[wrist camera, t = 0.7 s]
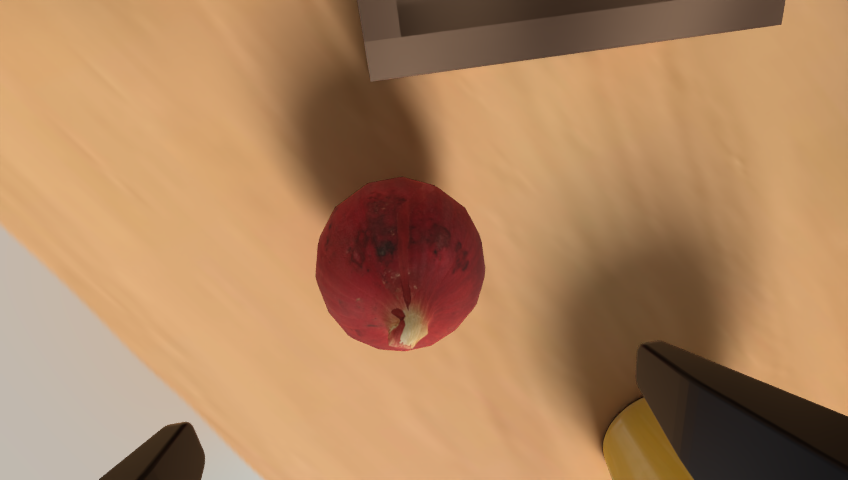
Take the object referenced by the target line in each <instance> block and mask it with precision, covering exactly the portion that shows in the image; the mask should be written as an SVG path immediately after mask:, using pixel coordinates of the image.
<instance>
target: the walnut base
mask: <svg viewBox="0 0 848 480" xmlns="http://www.w3.org/2000/svg"><path fill="white" fill-rule="evenodd" d="M357 2H358V8H359V15H360V21H361V27H362V33H363V39H364V45H365V51H366V57H367V63H368V69H369V75H370V81H371V82H372V81H379V80H387V79H394V78H401V77H408V76H415V75H423V74H430V73H437V72H444V71H451V70H458V69H466V68H473V67H480V66H487V65H494V64H502V63H509V62H516V61H523V60H530V59H538V58H545V57H552V56H559V55H566V54H574V53H581V52H588V51H595V50H602V49H610V48H617V47H624V46H631V45H638V44H645V43H653V42H660V41H667V40H674V39H681V38H689V37H696V36H703V35H710V34H717V33H725V32H732V31H739V30H746V29H753V28H761V27H768V26H775V25H781V24H782V18H783V12H784V6H785V0H357Z"/></svg>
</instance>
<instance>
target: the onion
mask: <svg viewBox="0 0 848 480" xmlns="http://www.w3.org/2000/svg"><path fill="white" fill-rule="evenodd" d="M484 276H485V264H484V256H483V249H482V242H481V239H480V236H479V233H478V231H477V229H476V227H475V225H474V223H473V222H472V220H471V218H470V216H469V214H468V212H467V210H466V209H465V207H463V206H462V205H461V204H459V203H458V202H457V201H455V200H454V199H453V198H451V197H450V196H449V195H447V194H446V193H445V192H443V191H442V190H441V189H439V188H438V187H436V186H434V185H431V184H427V183H424V182H420V181H416V180H413V179H409V178H405V177H398V178H392V179H387V180H382V181H376V182H371V183H367V184H366V185H365V186H363V187H362V188H361V189H359V190H358V191H357V192H355V193H354V194H353V195H351V196H350V197H348V198H347V199H346V200H344V201H343V202H342V203H340V204H339V205H338V206H336V207H335V209H334V210H333V212H332V214H331V216H330V218H329V220H328V222H327V224H326V226H325V228H324V230H323V232H322V234H321V235H320V239H319V243H318V249H317V263H316V280H317V283H318V286H319V289H320V291H321V294H322V296H323V299H324V301H325V304H326V306H327V309H328V312H329V313H330V314H331V315H332V317H333V318H334V319H335V320H336V321H337V322H338V324H339V325H340V326H341V327H342V328H343V330H344V331H345V332H346V333H347V334H348V335H349V336H350V337H352V338H353V339H356V340H358V341H360V342H363V343H365V344H368V345H370V346H372V347H375V348H377V349H383V350H396V351H408V350H413V349H418V348H422V347H427V346H431V345H433V344H434V343H436V342H437V341H439V340H440V339H442V338H444V337H445V336H447V335H448V334H450V333H451V332H453V331H455V330H456V329H457V328H458V326H459V325H460V324H461V323H462V321H463V320H464V319H465V318H466V317H467V315H468V314H469V313H470V312H471V311H472V310H473V308H474V307H475V305H476V304H477V301H478V297H479V294H480V291H481V287H482V284H483V280H484Z"/></svg>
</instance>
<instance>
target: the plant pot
mask: <svg viewBox="0 0 848 480" xmlns="http://www.w3.org/2000/svg"><path fill="white" fill-rule="evenodd" d="M603 453H604V458H605V461H606V464H607V467H608V469H609V472H610V475H611V477H612V480H694V479H693V478H692V476H691V475H690V474H689V472H688V471H687V469H686V468H685V466H684V465H683V463H682V462H681V460H680V459H679V457H678V456H677V454H676V452H675V451H674V449H673V447H672V446H671V444H670V442H669V440H668V439H667V437H666V435H665V433H664V432H663V430H662V428H661V426H660V425H659V423H658V421H657V419H656V418H655V416H654V414H653V412H652V410H651V409H650V407H649V405H648V403H647V402H646V400H645V398H644V397H643V398H641V399H639V400H637V401H636V402H634V403H632V404H631V405H629V406H628V407H627V408H625V409H624V410H623V411H622V412H621V413H620V414H619V415H618V416H617V417H616V418H615V419H614V421H613V422H612V423H611V425H610V426H609V428H608V430H607V432H606V435H605V438H604V442H603Z"/></svg>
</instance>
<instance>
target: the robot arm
mask: <svg viewBox="0 0 848 480" xmlns="http://www.w3.org/2000/svg"><path fill="white" fill-rule="evenodd" d="M636 382H637V385H638V387H639V389H640V391H641V393H642V395H643V396H644V398H645V400H646V402H647V403H648V405H649V407H650V409H651V410H652V412H653V414H654V416H655V418H656V419H657V421H658V423H659V425H660V426H661V428H662V430H663V432H664V433H665V435H666V437H667V439H668V440H669V442H670V444H671V446H672V447H673V449H674V451H675V452H676V454H677V456H678V457H679V459H680V460H681V462H682V463H683V465H684V466H685V468H686V469H687V471H688V472H689V474H690V475H691V476H692V478H693V479H694V480H848V416H845V415H843V414H840V413H838V412H836V411H833V410H831V409H828V408H826V407H823V406H821V405H818V404H816V403H813V402H811V401H808V400H806V399H804V398H801V397H799V396H796V395H794V394H791V393H789V392H786V391H784V390H781V389H779V388H776V387H774V386H772V385H769V384H767V383H764V382H762V381H759V380H757V379H754V378H752V377H749V376H747V375H744V374H742V373H740V372H737V371H735V370H732V369H730V368H727V367H725V366H722V365H720V364H717V363H715V362H712V361H710V360H707V359H705V358H703V357H700V356H698V355H695V354H693V353H690V352H688V351H685V350H683V349H680V348H678V347H675V346H673V345H671V344H668V343H666V342H663V341H651V342H645V343H642V344H640V345H639V346H638V349H637V361H636ZM204 464H205V454H204V451H203V448H202V446H201V444H200V442H199V439H198V437H197V435H196V432H195V430H194V428H193V426H192V425H191V424H190V423H189V422H182V423H176V424H170V425H167V426H165V427H163V428H162V429H161V430H160V431H158V432H157V433H156V434H155V435H153V436H152V437H151V438H150V439H148V440H147V441H146V442H145V443H143V444H142V445H141V446H140V447H138V448H137V449H136V450H135V451H134V452H132V453H131V454H130V455H129V456H127V457H126V458H125V459H124V460H123V461H121V462H120V463H119V464H117V465H116V466H115V467H114V468H112V469H111V470H110V471H109V472H107V474H105V475H104V476H103V477H101V478H100V479H99V480H201V478H202V473H203V469H204Z"/></svg>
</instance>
